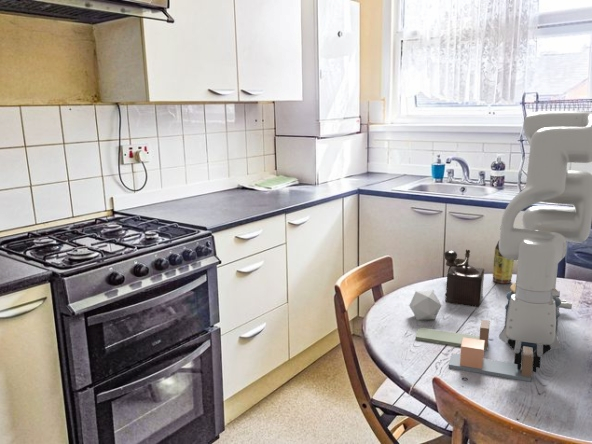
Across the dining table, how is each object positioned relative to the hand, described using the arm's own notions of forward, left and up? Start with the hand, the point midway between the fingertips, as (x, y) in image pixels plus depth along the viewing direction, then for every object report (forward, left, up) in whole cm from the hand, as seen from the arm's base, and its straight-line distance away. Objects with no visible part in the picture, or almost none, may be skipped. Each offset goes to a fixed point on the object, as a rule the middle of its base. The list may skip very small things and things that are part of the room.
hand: (526, 367), depth 120 cm
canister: (-1, -19, -2) cm, 19 cm away
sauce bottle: (+7, -63, -2) cm, 63 cm away
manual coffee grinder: (+18, -40, -2) cm, 44 cm away
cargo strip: (+8, 0, -2) cm, 8 cm away
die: (+27, -24, -2) cm, 36 cm away
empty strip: (+18, -12, -2) cm, 22 cm away
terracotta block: (+12, 0, -1) cm, 12 cm away
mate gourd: (+21, -57, -2) cm, 61 cm away
